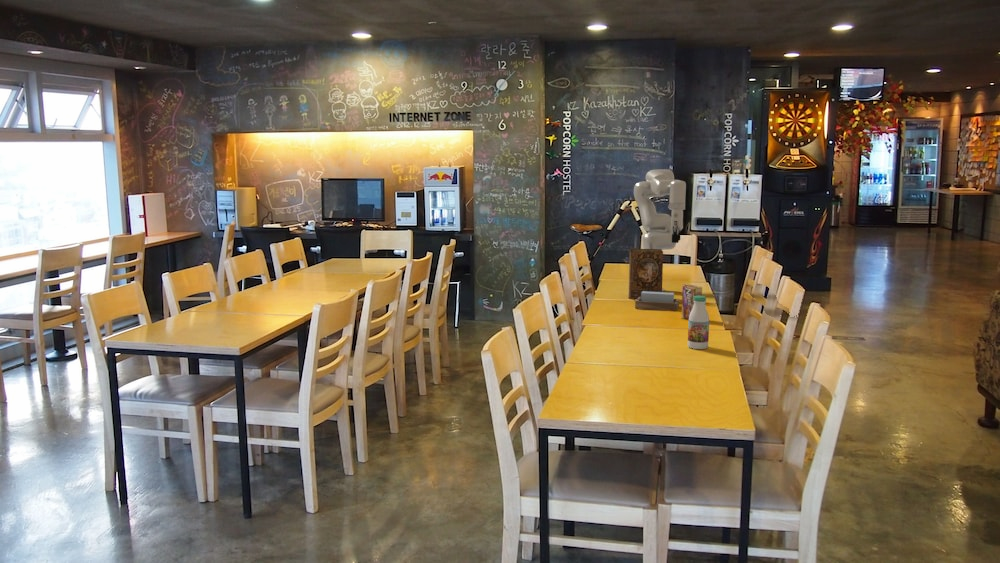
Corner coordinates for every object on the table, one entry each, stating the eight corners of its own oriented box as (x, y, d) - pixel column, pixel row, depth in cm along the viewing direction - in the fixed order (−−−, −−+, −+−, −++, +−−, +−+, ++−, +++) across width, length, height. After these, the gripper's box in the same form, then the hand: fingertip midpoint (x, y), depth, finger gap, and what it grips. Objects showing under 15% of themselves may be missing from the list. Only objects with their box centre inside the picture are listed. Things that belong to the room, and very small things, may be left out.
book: (628, 299, 401) (630, 250, 397) (628, 297, 406) (629, 248, 402) (661, 299, 399) (663, 250, 395) (660, 297, 405) (662, 249, 401)
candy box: (701, 321, 351) (703, 287, 348) (693, 322, 349) (695, 287, 346) (688, 317, 359) (689, 283, 356) (680, 318, 357) (682, 284, 354)
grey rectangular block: (673, 302, 381) (674, 292, 380) (672, 304, 376) (673, 294, 375) (642, 300, 385) (642, 291, 384) (640, 302, 380) (641, 293, 379)
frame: (638, 303, 389) (638, 296, 389) (678, 305, 384) (679, 298, 383) (635, 308, 378) (635, 301, 377) (676, 311, 372) (676, 303, 371)
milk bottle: (684, 345, 309) (686, 294, 305) (704, 344, 309) (706, 294, 306) (691, 350, 301) (693, 298, 298) (711, 349, 302) (713, 298, 298)
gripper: (683, 207, 376) (682, 243, 379) (686, 205, 392) (685, 239, 395) (667, 207, 378) (666, 243, 381) (671, 205, 394) (669, 239, 397)
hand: (675, 241), depth 388 cm, fingers open, 9 cm apart
